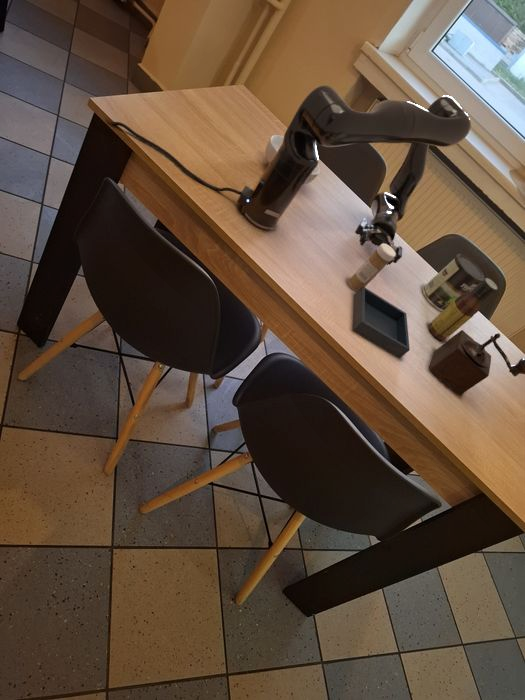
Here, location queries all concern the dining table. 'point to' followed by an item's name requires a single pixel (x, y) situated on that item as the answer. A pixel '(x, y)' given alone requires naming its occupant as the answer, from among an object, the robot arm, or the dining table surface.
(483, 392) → the dining table surface
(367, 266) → the sprinkles bottle
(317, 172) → the cereal bowl
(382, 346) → the tray
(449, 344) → the manual coffee grinder
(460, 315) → the sauce bottle
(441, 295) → the coffee can
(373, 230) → the robot arm
